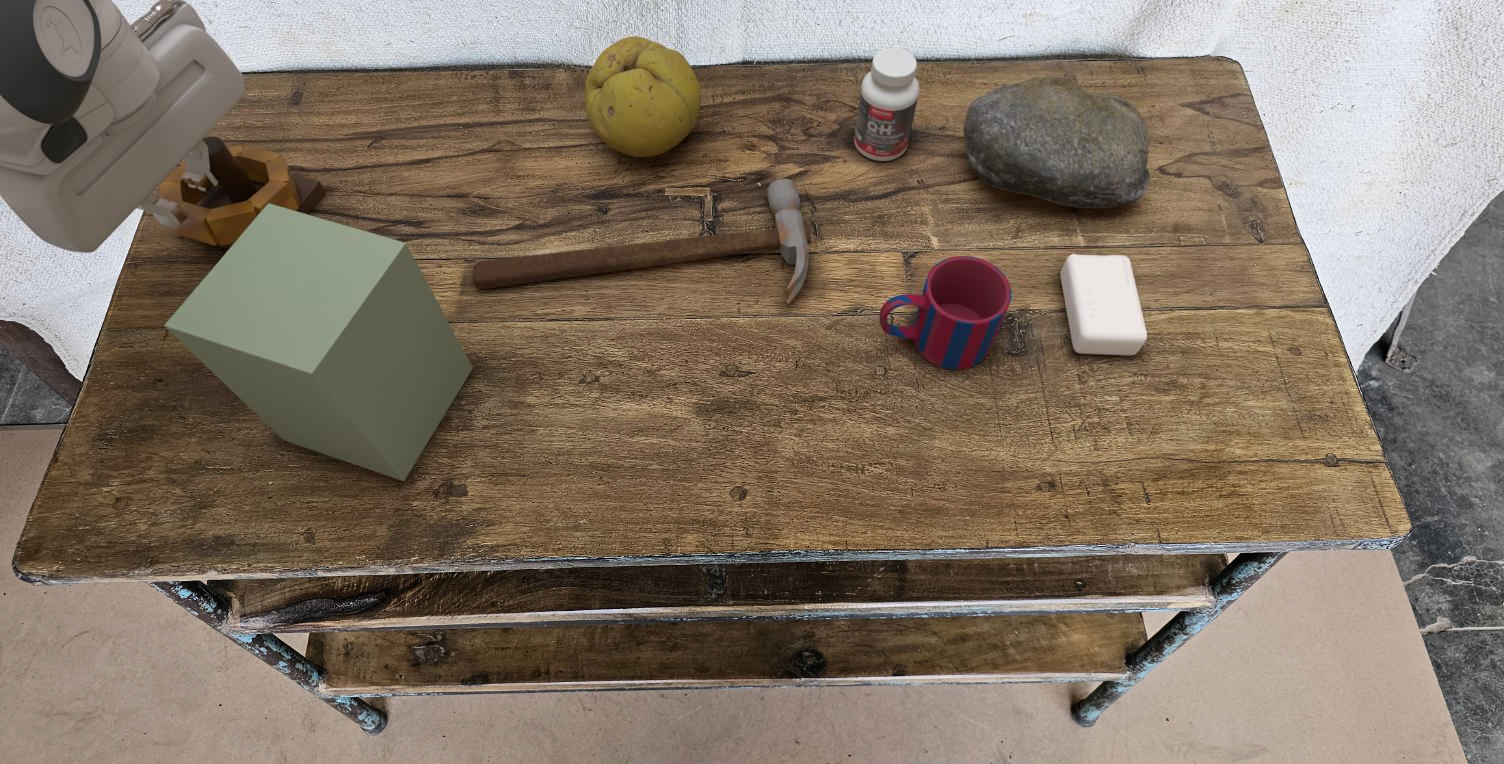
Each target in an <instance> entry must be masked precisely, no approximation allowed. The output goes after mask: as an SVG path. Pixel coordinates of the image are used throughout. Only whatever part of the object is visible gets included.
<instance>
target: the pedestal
mask: <svg viewBox="0 0 1504 764" xmlns="http://www.w3.org/2000/svg"><path fill="white" fill-rule="evenodd" d="M164 327H165V329H167V330H168V331H169V332H170V333H171V334H172V335H173V336H174V337H175V338H176V339H177V340H178V341H179V342H180V343H181V344H182V345H183V346H185V348H187V349H188V350H189V351H190V352H191V353H192V354H193V355H194V356H195V357H196V358H197V360H199V361H201V363H202V364H203V365H204V366H205V367H207V368H208V370H210V371H211V372H212V373H213V374H214V375H215V376H216V377H217V378H218V379H219V380H220V381H221V382H222V383H223V384H224V385H225V386H226V387H227V388H228V389H229V390H231V392H233V394H235V395H236V396H237V398H239V399H240V400H241V401H242V402H243V403H244V404H245V405H246V406H247V407H249V408H250V410H251V411H253V412H254V414H256V415H257V416H258V417H259V418H260V419H261V420H262V421H263V422H264V423H265V424H266V425H267V426H268V427H269V428H271V430H272V431H274V432H275V433H276V435H278V436H279V437H280V438H281V439H282V440H283V441H285V442H288V443H289V444H290V443H291V444H294V445H296V446H300V447H302V448H305V449H308V450H311V451H314V452H316V453H319V454H322V455H326V456H328V457H332V458H334V459H337V460H340V461H343V462H346V463H348V464H351V465H355V466H357V467H361V468H363V469H367V470H369V471H373V472H374V473H378V474H381V475H384V476H387V477H389V478H392V479H395V480H398V481H401V482H405V481H406V479H407V477H408V476H409V474H410V473H411V471H412V470H413V468H414V466H415V465H416V463H417V461H418V459H419V458H420V456H421V455H422V453H423V451H424V450H425V448H426V446H427V445H428V443H429V441H430V440H431V438H432V437H433V435H434V433H435V431H436V430H437V428H438V427H439V425H440V423H441V421H442V420H443V418H444V417H445V415H446V414H447V412H448V410H449V409H450V407H451V405H452V403H453V402H454V400H455V399H456V397H457V395H458V394H459V392H460V391H461V389H462V387H463V385H464V384H465V382H466V380H467V378H468V377H469V376H470V374H471V373H472V371H473V369H474V366H473V365H472V363H471V361H470V359H469V357H468V355H467V354H466V352H465V350H464V348H463V346H462V343H461V342H460V341H459V339H458V337H457V335H456V334H455V332H454V330H453V328H452V326H451V324H450V322H449V321H448V319H447V316H446V314H445V313H444V311H443V309H442V307H441V306H440V304H439V302H438V300H437V298H436V296H435V294H434V293H433V290H432V289H431V287H430V284H429V283H428V281H427V279H426V278H425V276H424V274H423V272H422V270H421V268H420V266H419V264H418V262H417V260H416V259H415V257H414V255H413V254H412V252H411V249H410V248H409V246H408V244H407V243H406V242H404V241H401V240H397V239H395V238H391V237H387V236H383V235H380V234H376V233H373V232H369V231H366V230H362V229H359V228H355V227H352V226H349V225H345V224H341V223H338V222H335V221H331V220H328V219H324V218H321V217H318V216H314V215H311V214H308V215H307V214H304V213H300V212H297V211H293V210H290V209H286V208H283V207H279V206H276V205H273V204H267V205H266V207H265V208H264V209H263V210H262V211H261V212H260V214H259V215H258V216H257V217H256V218H255V220H254V221H253V222H252V223H251V224H250V225H249V227H248V228H247V229H246V230H245V231H244V232H243V234H242V235H241V236H240V237H239V238H238V239H237V241H236V242H235V243H234V244H233V245H232V246H231V248H230V249H227V251H226V252H225V254H224V255H222V257H221V258H220V260H218V262H217V263H216V264H215V265H214V267H213V268H212V269H211V270H210V271H209V272H208V273H207V274H206V275H205V276H204V278H203V279H202V280H201V282H200V283H199V284H198V285H197V286H196V287H195V289H194V290H193V291H192V292H191V293H190V294H189V295H188V296H187V298H186V299H185V300H184V302H183V303H182V304H181V305H180V306H179V307H178V309H177V310H175V312H174V313H173V314H172V316H171V317H170V318H169V319H168V320H167V322H166V323H165V324H164Z"/></svg>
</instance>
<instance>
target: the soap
mask: <svg viewBox="0 0 1504 764" xmlns="http://www.w3.org/2000/svg"><path fill="white" fill-rule="evenodd" d="M1059 274H1060V275H1059V276H1060V281H1061V282H1060V283H1061V288H1062V293H1063V299H1064V304H1065V311H1066V317H1067V321H1068V328H1069V333H1070V338H1071V339H1070V340H1071V345H1072V349H1073V351H1074V352H1075V353H1076V354H1081V355H1107V356H1135V355H1136V354H1137V353H1139V352H1140V350H1141V349H1142V347H1143V345H1144V344H1146V342H1147V339H1148V332H1147V326H1146V323H1145V319H1144V315H1143V310H1142V305H1141V302H1140V301H1141V300H1140V298H1139V292H1138V289H1137V284H1136V279H1135V277H1134V276H1135V275H1134V271H1133V268H1132V262H1131V260H1130V258H1129V257H1128V256H1126V255H1121V254H1118V255H1117V254H1116V255H1115V254H1108V255H1098V254H1076V253H1072V254H1070V255H1068V256H1067V258H1066V259H1065V261H1064V264H1063V265H1062V267H1061V270H1060V272H1059Z"/></svg>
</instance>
